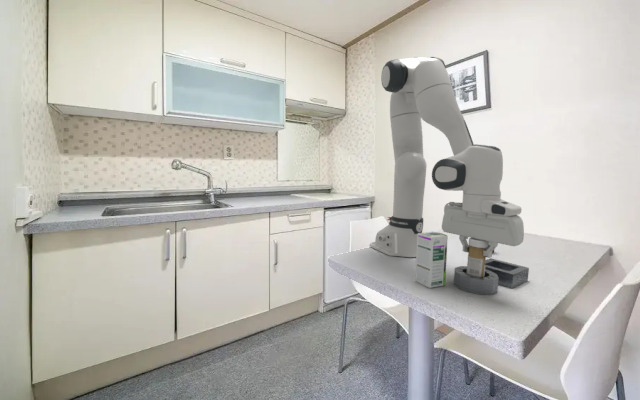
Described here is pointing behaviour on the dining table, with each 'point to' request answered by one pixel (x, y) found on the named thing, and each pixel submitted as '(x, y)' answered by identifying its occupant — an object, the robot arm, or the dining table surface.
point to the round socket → (476, 281)
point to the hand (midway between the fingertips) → (476, 254)
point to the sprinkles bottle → (476, 257)
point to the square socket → (507, 272)
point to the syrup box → (431, 259)
